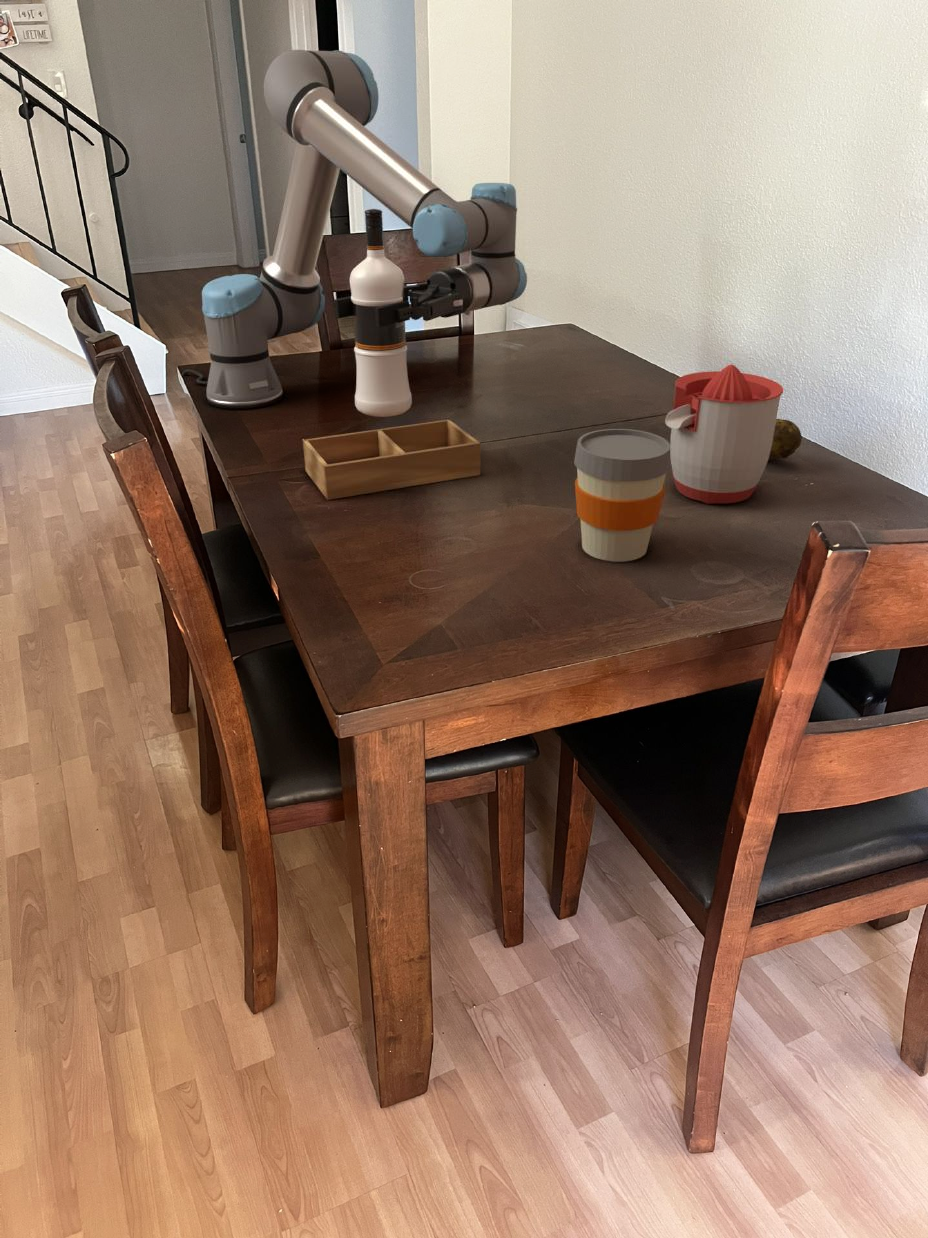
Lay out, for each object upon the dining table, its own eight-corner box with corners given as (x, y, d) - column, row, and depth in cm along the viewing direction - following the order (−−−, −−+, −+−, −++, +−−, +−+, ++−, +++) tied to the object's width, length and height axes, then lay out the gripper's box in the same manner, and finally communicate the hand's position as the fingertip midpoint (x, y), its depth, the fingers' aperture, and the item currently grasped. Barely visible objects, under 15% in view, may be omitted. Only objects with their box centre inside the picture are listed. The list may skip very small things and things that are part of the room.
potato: (765, 445, 160) (773, 401, 156) (803, 471, 149) (813, 425, 145) (722, 449, 158) (729, 404, 154) (757, 475, 147) (765, 428, 143)
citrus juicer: (634, 482, 145) (647, 358, 135) (724, 467, 151) (742, 347, 140) (690, 519, 132) (708, 385, 122) (785, 501, 138) (810, 371, 128)
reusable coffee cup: (598, 574, 118) (607, 466, 110) (553, 537, 128) (558, 435, 120) (678, 557, 122) (692, 451, 114) (628, 522, 132) (637, 423, 124)
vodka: (358, 400, 151) (345, 205, 135) (413, 400, 151) (406, 205, 136) (352, 418, 143) (338, 212, 127) (411, 417, 143) (403, 212, 128)
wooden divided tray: (305, 471, 150) (302, 439, 147) (449, 449, 159) (449, 419, 156) (327, 500, 139) (324, 466, 137) (480, 474, 148) (480, 443, 145)
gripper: (504, 323, 146) (407, 349, 132) (411, 305, 158) (312, 327, 144) (505, 274, 142) (405, 296, 128) (410, 260, 154) (308, 278, 140)
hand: (356, 312), depth 136 cm, fingers closed on vodka, 8 cm apart
